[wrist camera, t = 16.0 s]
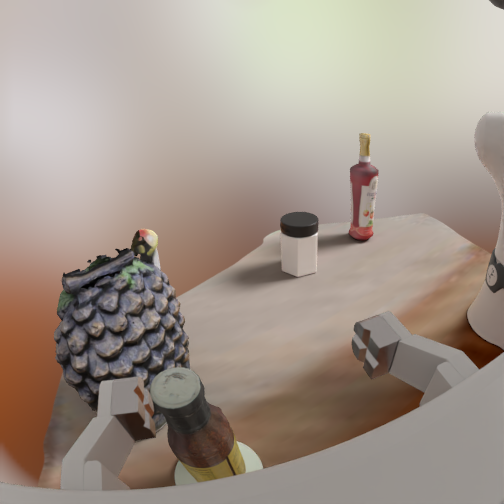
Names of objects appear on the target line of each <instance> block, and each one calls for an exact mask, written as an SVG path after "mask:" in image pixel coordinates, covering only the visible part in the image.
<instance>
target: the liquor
mask: <svg viewBox="0 0 504 504" xmlns="http://www.w3.org/2000/svg"><path fill="white" fill-rule="evenodd" d="M360 145H361V147H360V156H359V164H356V165H354V166H353V167H351V168H350V181H351V182H350V184H351V185H350V186H351V187H350V188H351V228H350V230H349V234H350V235H351V236H352V237H353V238H354V239H356V240H361V241H364V240H367V239H369V238H370V237H371V236H373V231H372V226H373V217H374V208H375V199H376V192H377V182H378V181H377V180H378V170H377V169H376V168H375V167H374V166H372V165H370V152H369V145H370V134H364V133H361V134H360Z"/></svg>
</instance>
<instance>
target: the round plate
mask: <svg viewBox="0 0 504 504" xmlns="http://www.w3.org/2000/svg"><path fill="white" fill-rule="evenodd" d="M237 444H238V447H239V449H240V452H241V454H242V457H243V460H244V462H245V466H246V472H245V473H248V472H252V471H256V470H260V469H263V465H262V463H261V460H260V459H259V457H258V456H257V454H256V453H255V452H254V451H253V450H252V449H251V448H249V447H248V446H246V445H245V444H243V443H241V442H238V441H237ZM191 483H198V482H197V481H196V480H195V478H194V477H193V476H192V475H191V474H190V473H189V472H188V471H187V470H186V468H185V467H184V466H183V465H182V463H181V462H180V461H178V463H177V465H176V469H175V484H176V486H177V485H184V484H191Z"/></svg>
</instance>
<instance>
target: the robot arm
mask: <svg viewBox="0 0 504 504" xmlns="http://www.w3.org/2000/svg"><path fill="white" fill-rule="evenodd" d="M489 1H491V3H492V4H494V5H495V6H496V7H499V8H501V9H504V0H489ZM475 148H476V152H477V155H478V157H479V159H480V161H481V163H482V164H483V166H484V167H485V168H486V169H487V170H488V172H489V173H490V175H491V176H492V178H493V180H494V181H495V183H496V185H497V188H498V191H499V194H500V198H501V204H502V218H501V226H500V231H499V236H498V241H497V245H496V248H495V249H494V250H493V252H492V255H491V258H490V262H489V265H488V269H487V274H486V279H485V281H484V283H483V285H482V287H481V289H480V291H479V293H478V295H477V297H476V298H475V300H474V301H473V303H472V304H471V305H470V307H469V309H468V312H467V317H468V321H469V323H470V325H471V327H472V328H473V330H474V331H475V332H476V333H477V334H478V335H479V336H481V337H482V338H483V339H485V340H486V341H488V342H490V343H493V344H495V345H497V346H499V347H501V348H502V349H503V350H504V112H487V113H486V114H485V115H484V116H483V117H482V118H481V119H480V121H479V123H478V125H477V128H476V131H475ZM354 331H355V333H356V334H355V336H354V337H353V338H352V349H353V352H354V355H355V356H356V358H357V359H358V360H359V361H361V362H364V366H363V368H364V370H365V371H366V373H367V374H368V376H369V377H370V378H371V379H374V378H376V377H379V376H381V375H384V374H386V373H389V374H391V375H393V376H395V377H397V378H398V379H400V380H402V381H404V382H406V383H408V384H409V385H411V386H413V387H415V388H417V389H419V390H421V391H422V392H424V395H423V397H422V399H421V401H420V404H419V405H420V407H418V408H416V409H414V410H413V411H411V412H409V413H407V414H405V415H403V416H401V417H399V418H397V419H395V420H393V421H391V422H389V423H387V424H385V425H382V426H380V427H378V428H376V429H374V430H372V431H369V432H367V433H365V434H362V435H360V436H358V437H355V438H353V439H350V440H348V441H346V442H343V443H340V444H338V445H335V446H333V447H330V448H327V449H325V450H322V451H319V452H316V453H313V454H310V455H307V456H304V457H301V458H298V459H295V460H292V461H288V462H285V463H282V464H278V465H275V466H271V467H268V468H264V469H260V470H256V471H252V472H248V473H244V474H239V475H235V476H230V477H225V478H220V479H215V480H210V481H204V482H198V483H191V484H184V485H177V486H169V487H160V488H149V489H135V490H130V487H129V486H127V485H126V484H125V483H124V482H122V481H121V480H120V479H119V478H118V475H119V473H120V471H121V469H122V467H123V465H124V463H125V461H126V459H127V457H128V455H129V453H130V451H131V449H132V447H133V445H134V443H135V441H137V440H144V439H150V438H156V430H155V422H154V421H153V419H152V416H153V414H154V406H153V402H152V398H151V395H150V393H149V391H148V390H147V389H145V388H144V382H143V380H142V378H141V377H131V378H123V379H115V380H107V381H102V382H101V384H100V388H99V398H98V411H97V417H94V418H93V419H92V420H91V422H90V423H89V424H88V426H87V427H86V428H85V430H84V431H83V432H82V434H81V435H80V436H79V438H78V439H77V440H76V442H75V443H74V445H73V446H72V447H71V449H70V450H69V451H68V453H67V454H66V455H65V457H64V458H63V460H62V470H61V489H49V488H38V487H29V486H22V485H15V484H9V483H3V482H0V504H504V352H503V353H502V354H501V355H499V356H498V357H497V358H495V359H494V360H493V361H491V362H490V363H489V364H487V365H486V366H484V367H483V368H481V369H480V370H479V369H478V368H477V366H476V365H475V364H474V363H473V362H472V361H471V360H470V359H469V358H468V357H467V356H466V354H465V353H464V352H463V351H461V350H458V349H455V348H452V347H450V346H447V345H444V344H441V343H438V342H436V341H433V340H430V339H427V338H424V337H422V336H419V335H416V334H414V335H412V334H411V333H410V332H409V331H408V330H407V329H406V328H405V327H404V326H403V324H402V323H401V322H400V321H399V320H398V319H397V318H396V317H395V316H394V315H393V314H392V313H391V312H389V311H387V312H385V313H382V314H379V315H376V316H373V317H370V318H367V319H365V320H362V321H359V322H356V324H355V325H354Z"/></svg>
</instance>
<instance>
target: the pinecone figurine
mask: <svg viewBox="0 0 504 504" xmlns="http://www.w3.org/2000/svg"><path fill="white" fill-rule="evenodd" d="M157 243H158V236H157V235H156V234H155V233H154V231H152V230H148V229H144V228H143V229H140V230H138V231H137V232H136V234H135V236H134V238H133V241H132V245H131V249H128V248H126V249H124V250H121V251H120V250H119V249H115V250H117V251H118V253H119V255H118V256H117V257H116V258H111V257H106V255H102V256H101V255H100V256H97V259H96V260H95V261H94V262H92V263H91V264H90V266H89V267H87V268H86V269H85V270H82V271H80V269H78V270H75V271H72V272H70V273H67V274H65V273H64V274H63V277H62V285H63V289H64V290H63V291H62V293H61V294H60V298H59V304H58V308H57V315H58V316H59V317H60V319H61V320H62V321H61V322H60V325H59V326H58V328H57V329H56V331H55V332H54V340H55V341H56V342H57V343H56V353H57V355H56V360H57V362H58V363H59V364H60V365H61V367H62V368H63V374H64V378H65V380H66V382H67V383H68V385H69V386H71V387H73V388H75V389H76V390H77V391H78V392H79V396H80V398H81V399H82V400H84V401H85V402H87V403H88V404H89V406H90V407H91V408H92V410H94V411H98V398H99V388H100V384H101V382H102V381H107V380H115V379H123V378H131V377H141V378H142V380H143V382H144V388H145V389H147V390H148V391H149V393H150V386H151V383H152V381H153V379H154V378H155V377H156V376H157V375H158V374H159V373H160V372H163V371H165V370H167V369H171V368H177V367H182V368H188V369H190V363H189V354H188V353H189V350H188V348H187V347H188V344H189V342H188V339H189V337H188V336H187V334H186V333H185V332H184V330H183V325H184V323H185V319H184V316H183V315H182V314H181V313H180V312H179V309H180V308H179V307H180V302H179V301H178V300H177V299H176V294H175V289H174V288H173V287H172V286H171V285H170V284H169V280H168V277H167V275H166V274H164V273H163V272H162V271H161V268H160V262H159V256H158V252H157ZM138 254H140V255H141V257H140V259H139V258H136V257H134V255H135V256H137V255H138ZM88 262H91V260H88ZM152 402H153V401H152ZM153 406H154V414H153V416H152V419H153V421H154V422H155V430H156V432H157V431H158V430H160V429H161V428H162V427H163V426H164V425H165V424H167V422H166V419H165V417H164V415H163V414H162V413H161V412H160V411H159V410H158V409H157V408H156V407H155V405H154V403H153Z"/></svg>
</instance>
